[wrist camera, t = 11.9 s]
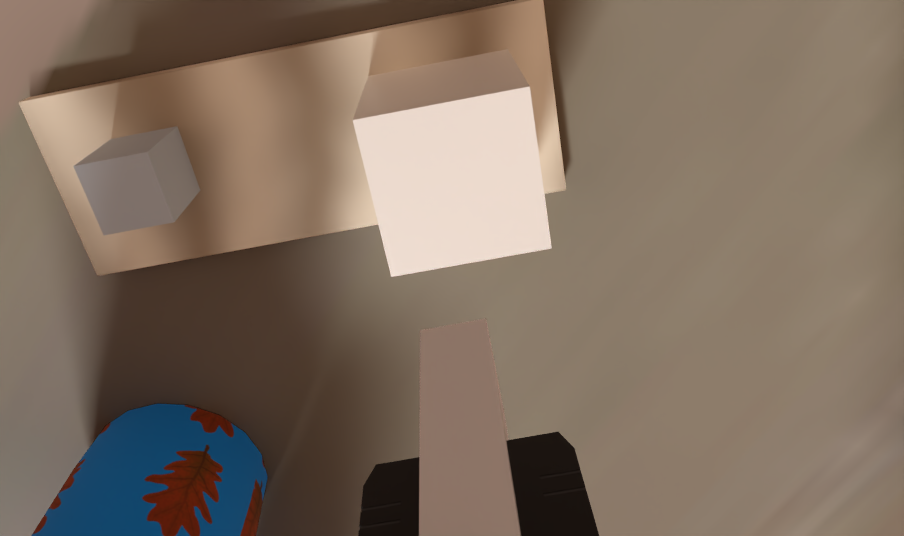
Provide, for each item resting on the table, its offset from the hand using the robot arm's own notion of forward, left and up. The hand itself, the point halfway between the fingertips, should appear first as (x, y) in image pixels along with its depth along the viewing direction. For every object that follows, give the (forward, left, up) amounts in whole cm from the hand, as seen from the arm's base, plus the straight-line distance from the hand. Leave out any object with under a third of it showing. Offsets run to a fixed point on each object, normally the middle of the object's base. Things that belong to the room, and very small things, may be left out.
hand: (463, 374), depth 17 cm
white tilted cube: (0, 0, -20) cm, 20 cm away
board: (-7, +1, -21) cm, 22 cm away
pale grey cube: (-14, +1, -20) cm, 24 cm away
